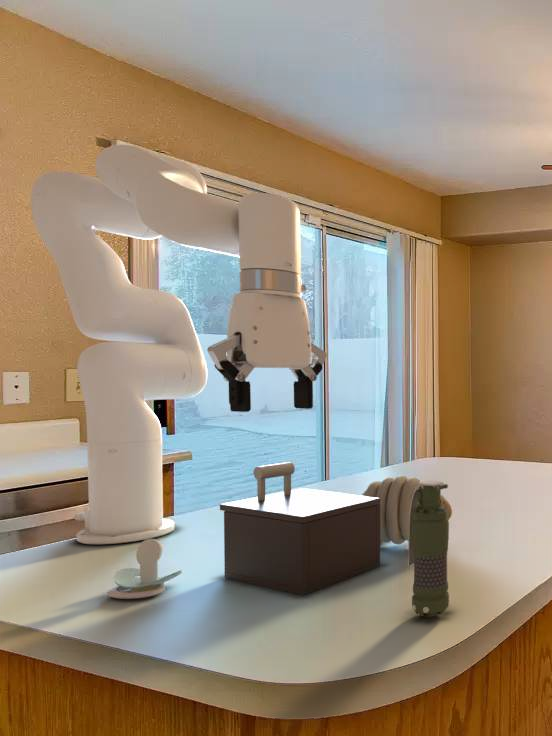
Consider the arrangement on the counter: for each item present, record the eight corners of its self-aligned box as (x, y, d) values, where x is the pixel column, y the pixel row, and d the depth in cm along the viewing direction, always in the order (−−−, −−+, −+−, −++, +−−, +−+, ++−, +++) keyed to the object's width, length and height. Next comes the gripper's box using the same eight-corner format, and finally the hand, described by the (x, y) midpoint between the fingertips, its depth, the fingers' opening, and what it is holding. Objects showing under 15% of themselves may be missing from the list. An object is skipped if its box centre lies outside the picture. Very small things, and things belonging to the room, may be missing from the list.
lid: (219, 510, 78) (219, 469, 77) (302, 493, 89) (302, 457, 89) (302, 523, 71) (302, 479, 71) (380, 503, 83) (380, 465, 83)
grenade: (456, 610, 68) (456, 480, 67) (434, 624, 64) (434, 486, 63) (424, 605, 69) (424, 478, 69) (401, 618, 65) (401, 483, 65)
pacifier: (148, 604, 69) (189, 584, 75) (146, 551, 68) (187, 536, 74) (91, 601, 69) (136, 582, 75) (88, 549, 69) (134, 533, 75)
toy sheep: (447, 554, 89) (448, 481, 88) (329, 557, 86) (329, 482, 86) (455, 536, 99) (455, 470, 99) (350, 538, 97) (350, 471, 97)
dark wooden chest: (224, 577, 78) (223, 511, 77) (306, 552, 89) (306, 494, 89) (303, 595, 72) (302, 523, 71) (380, 565, 83) (380, 503, 83)
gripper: (305, 296, 92) (307, 406, 92) (189, 279, 76) (192, 412, 76) (341, 293, 89) (342, 407, 89) (228, 275, 73) (231, 413, 73)
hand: (273, 409), depth 83 cm, fingers open, 9 cm apart
